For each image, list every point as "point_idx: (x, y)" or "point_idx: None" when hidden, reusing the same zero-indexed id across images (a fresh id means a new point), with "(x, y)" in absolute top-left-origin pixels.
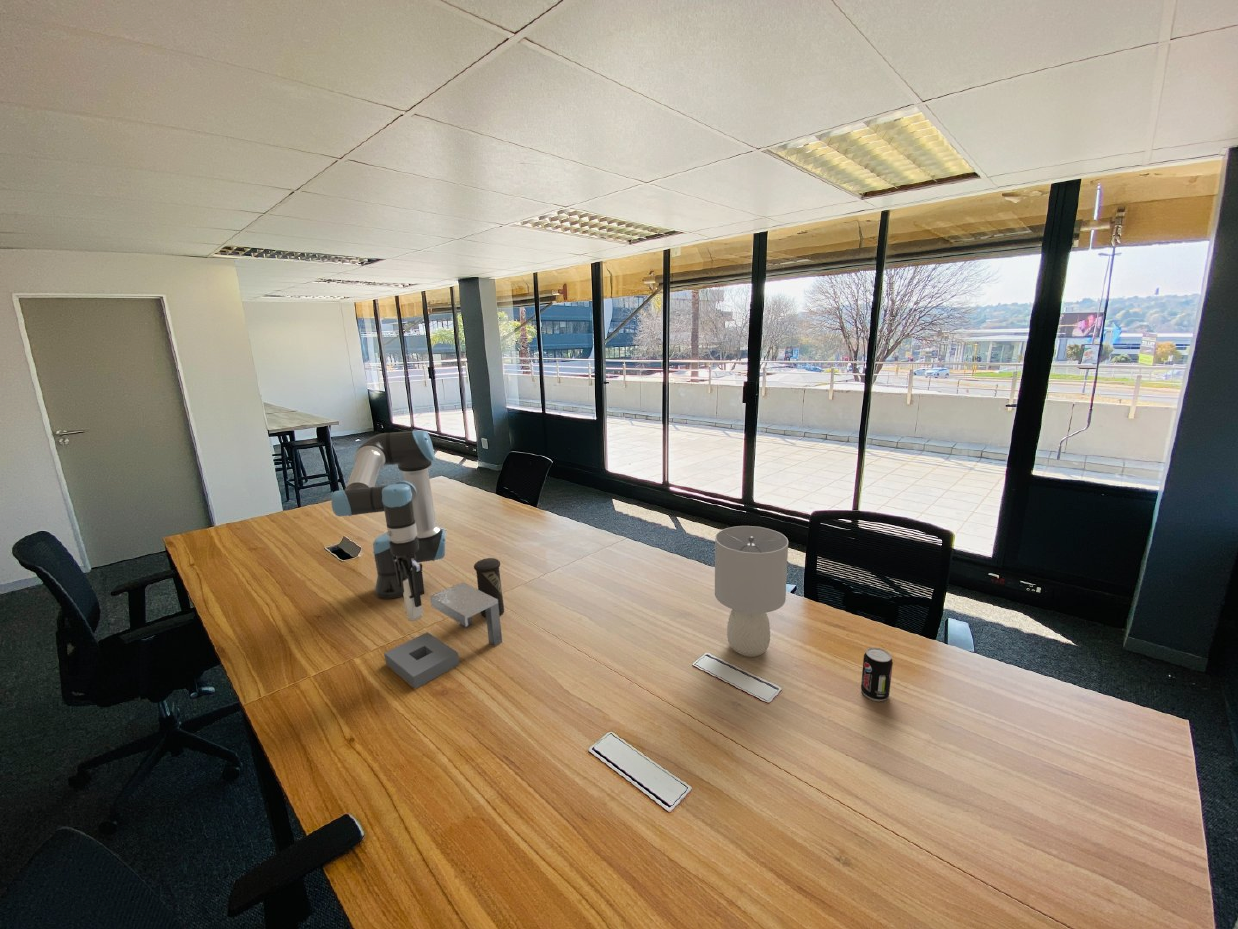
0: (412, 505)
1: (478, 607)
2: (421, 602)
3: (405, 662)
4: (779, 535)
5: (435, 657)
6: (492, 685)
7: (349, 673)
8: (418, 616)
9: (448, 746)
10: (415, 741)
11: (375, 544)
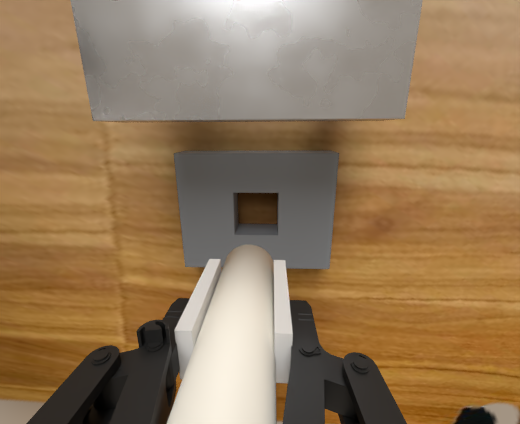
0: None
1: (406, 16)
2: (288, 294)
3: None
4: None
5: (306, 202)
6: (466, 145)
7: (168, 304)
8: (273, 271)
9: (506, 290)
10: (443, 314)
11: None
